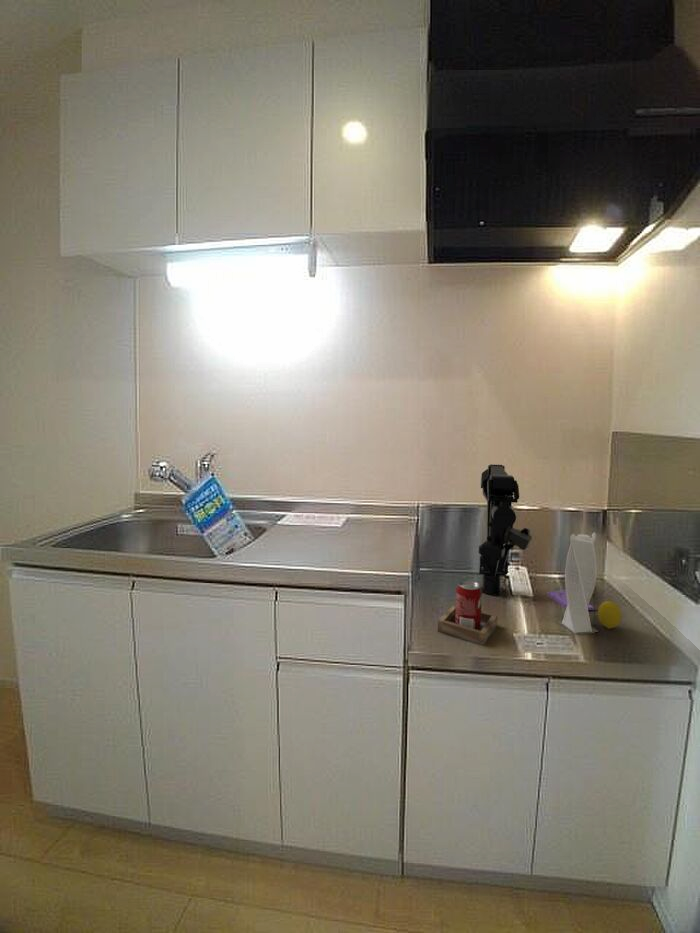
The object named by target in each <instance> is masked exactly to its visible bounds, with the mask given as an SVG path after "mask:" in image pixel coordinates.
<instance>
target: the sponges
mask: <svg viewBox="0 0 700 933" xmlns="http://www.w3.org/2000/svg"><path fill="white" fill-rule="evenodd" d="M547 596H548V597H549V598H551V599H552V600H553V601H555V602H557V603H558V604H560V605H561V606H562V607H565V609H566V608H567V604H568V603H567V596H566V589H562V590H561V589H559V590H553V591H547ZM587 607H588V610H593V611H594V606H593V605H591V604H590V603H589V604H588V606H587Z"/></svg>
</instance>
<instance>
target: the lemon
mask: <svg viewBox="0 0 700 933" xmlns="http://www.w3.org/2000/svg"><path fill="white" fill-rule="evenodd" d="M597 618H598V620H599V622H600V624H602V625H603V626H604V627H606V629H612V628H616V627H617V626H619V625H620V623H621V621H622V611H621V608H620V607H619V605H618V604H617V603H616V602H614V601H613V600H607V601H604V602H602V603H601V604H600V605H599V607H598V610H597Z"/></svg>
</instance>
